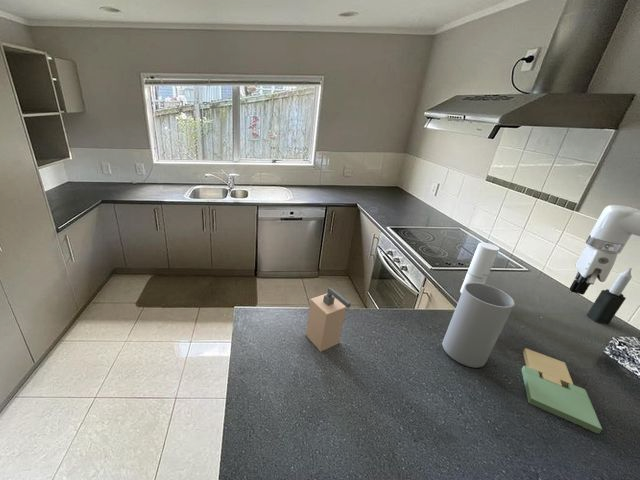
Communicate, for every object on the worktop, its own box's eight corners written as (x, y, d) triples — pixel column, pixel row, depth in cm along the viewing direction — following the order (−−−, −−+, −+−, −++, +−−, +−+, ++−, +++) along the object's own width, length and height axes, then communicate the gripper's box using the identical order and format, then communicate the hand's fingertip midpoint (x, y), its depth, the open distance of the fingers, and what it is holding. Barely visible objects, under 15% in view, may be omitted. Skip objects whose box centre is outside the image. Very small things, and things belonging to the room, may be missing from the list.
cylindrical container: (482, 299, 126) (503, 250, 116) (466, 298, 126) (486, 249, 116) (471, 289, 132) (490, 242, 123) (456, 289, 132) (474, 241, 123)
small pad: (562, 366, 93) (565, 362, 92) (573, 396, 83) (576, 391, 83) (522, 352, 98) (525, 347, 97) (528, 378, 89) (531, 373, 88)
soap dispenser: (305, 334, 102) (312, 284, 93) (323, 327, 106) (331, 278, 97) (328, 361, 92) (339, 307, 83) (348, 352, 95) (359, 299, 87)
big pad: (582, 393, 84) (585, 389, 83) (598, 434, 74) (602, 429, 73) (521, 369, 91) (523, 365, 91) (528, 403, 81) (531, 398, 80)
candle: (596, 322, 114) (630, 270, 104) (584, 314, 119) (616, 263, 109) (610, 324, 113) (646, 272, 104) (598, 316, 118) (631, 265, 108)
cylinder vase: (482, 375, 89) (513, 313, 79) (438, 353, 96) (461, 294, 87) (486, 353, 97) (515, 294, 88) (445, 334, 105) (467, 278, 95)
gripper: (632, 257, 80) (600, 308, 88) (612, 239, 92) (584, 286, 99) (595, 249, 84) (566, 298, 91) (580, 233, 96) (555, 278, 103)
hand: (576, 291), depth 95 cm, fingers closed
